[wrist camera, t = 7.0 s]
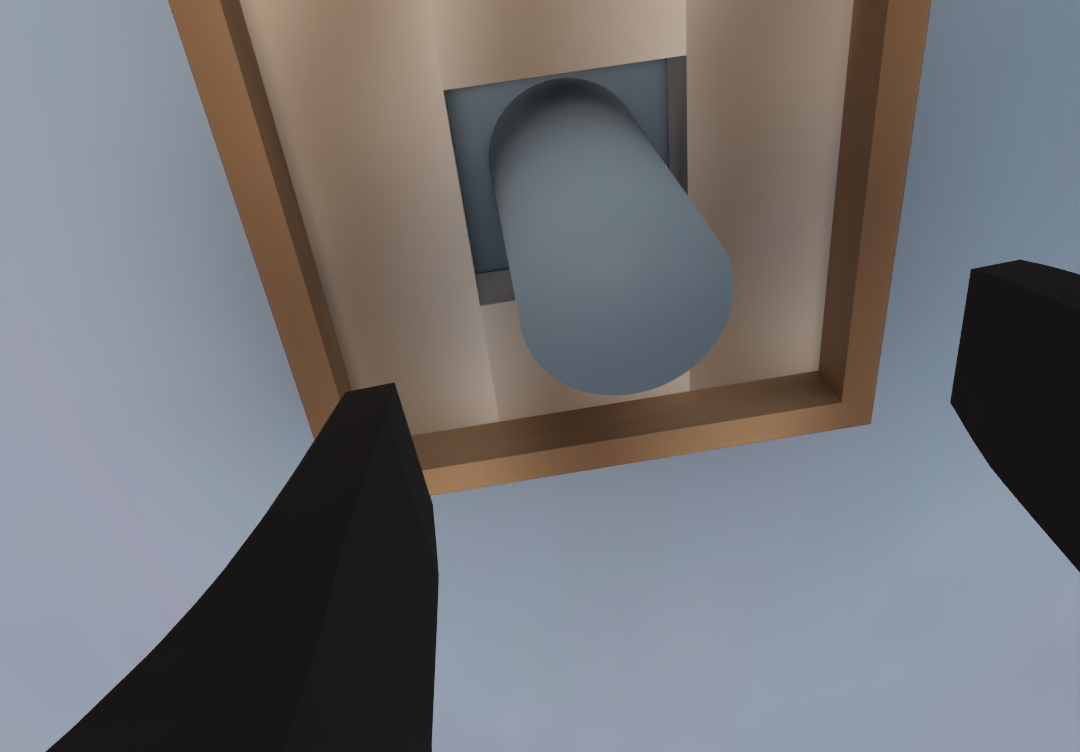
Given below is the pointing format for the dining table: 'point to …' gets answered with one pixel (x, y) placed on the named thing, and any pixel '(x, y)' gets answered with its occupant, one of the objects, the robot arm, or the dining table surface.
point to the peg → (603, 244)
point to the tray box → (488, 298)
